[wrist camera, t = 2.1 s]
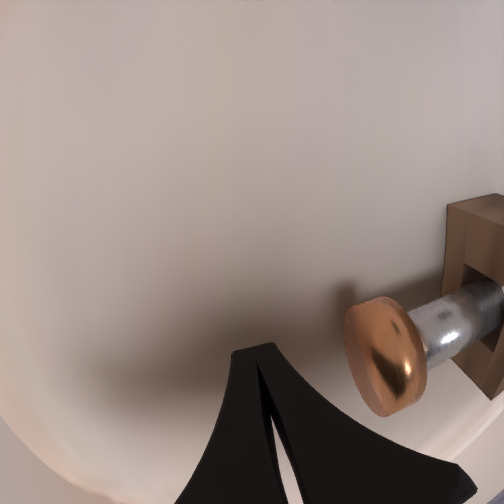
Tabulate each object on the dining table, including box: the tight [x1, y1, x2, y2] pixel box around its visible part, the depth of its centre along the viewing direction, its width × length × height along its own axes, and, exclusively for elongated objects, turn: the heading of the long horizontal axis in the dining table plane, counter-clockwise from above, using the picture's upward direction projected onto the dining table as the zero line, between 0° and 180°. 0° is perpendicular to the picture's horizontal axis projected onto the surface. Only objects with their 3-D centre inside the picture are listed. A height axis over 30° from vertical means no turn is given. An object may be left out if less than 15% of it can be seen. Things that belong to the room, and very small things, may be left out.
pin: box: [344, 277, 504, 417], centre depth 8 cm, size 6×4×4 cm, turn 101°
